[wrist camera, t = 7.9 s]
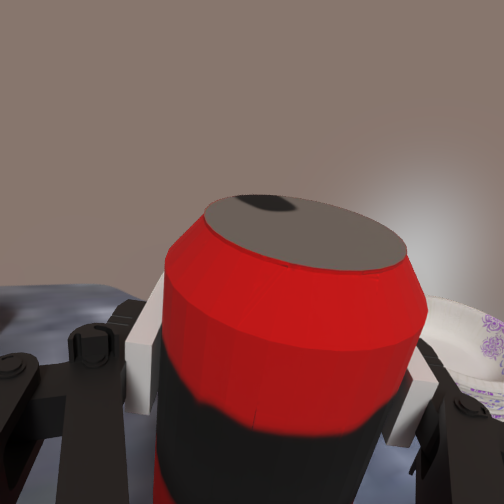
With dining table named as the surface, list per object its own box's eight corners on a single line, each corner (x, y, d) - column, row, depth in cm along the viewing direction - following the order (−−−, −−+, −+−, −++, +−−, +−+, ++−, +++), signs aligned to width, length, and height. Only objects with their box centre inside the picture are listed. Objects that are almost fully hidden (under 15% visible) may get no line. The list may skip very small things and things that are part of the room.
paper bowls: (340, 339, 44) (357, 283, 41) (459, 352, 46) (484, 298, 42) (383, 453, 31) (413, 381, 27) (552, 468, 32) (600, 400, 28)
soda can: (271, 400, 20) (318, 186, 15) (377, 540, 14) (506, 267, 9) (130, 453, 16) (133, 187, 11) (198, 674, 10) (263, 327, 6)
